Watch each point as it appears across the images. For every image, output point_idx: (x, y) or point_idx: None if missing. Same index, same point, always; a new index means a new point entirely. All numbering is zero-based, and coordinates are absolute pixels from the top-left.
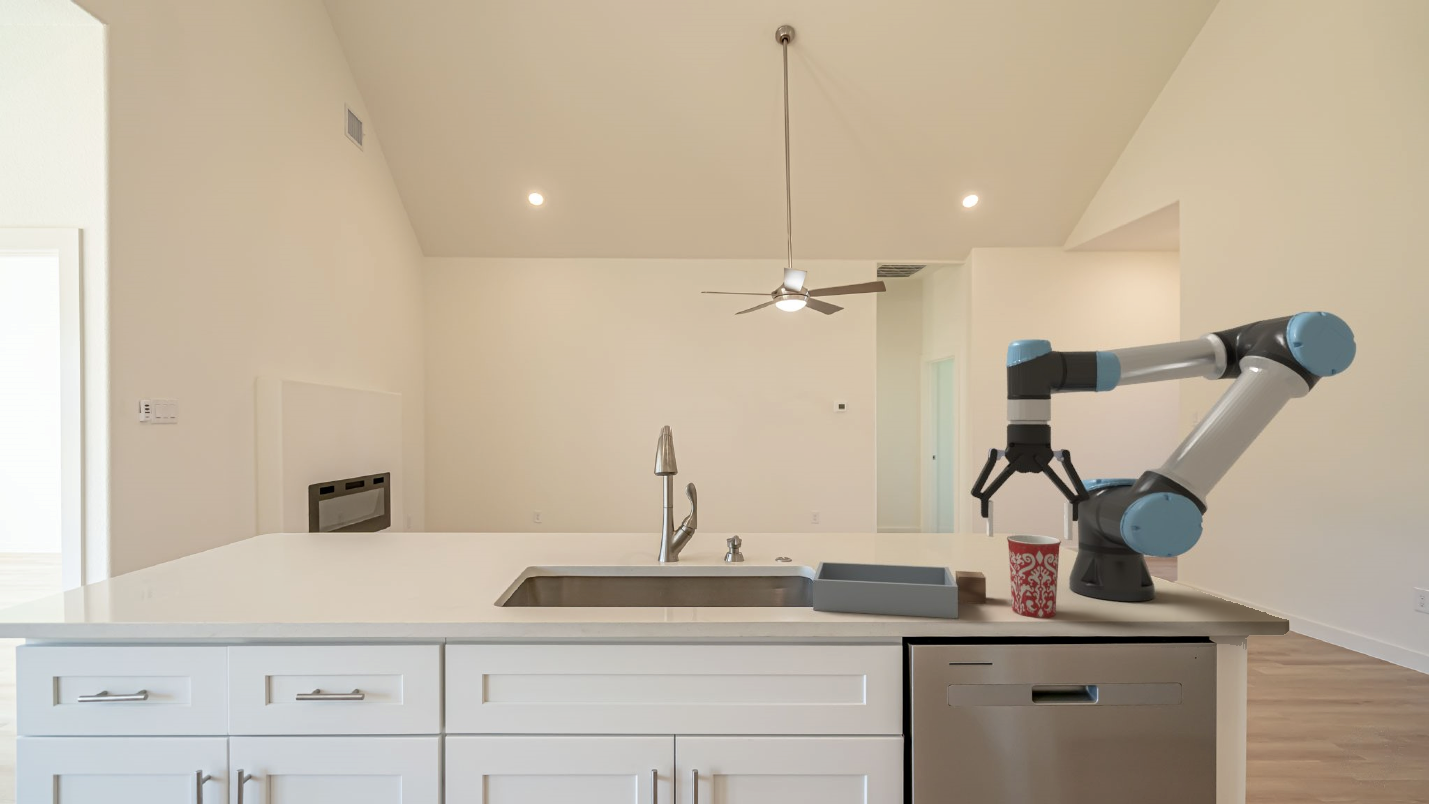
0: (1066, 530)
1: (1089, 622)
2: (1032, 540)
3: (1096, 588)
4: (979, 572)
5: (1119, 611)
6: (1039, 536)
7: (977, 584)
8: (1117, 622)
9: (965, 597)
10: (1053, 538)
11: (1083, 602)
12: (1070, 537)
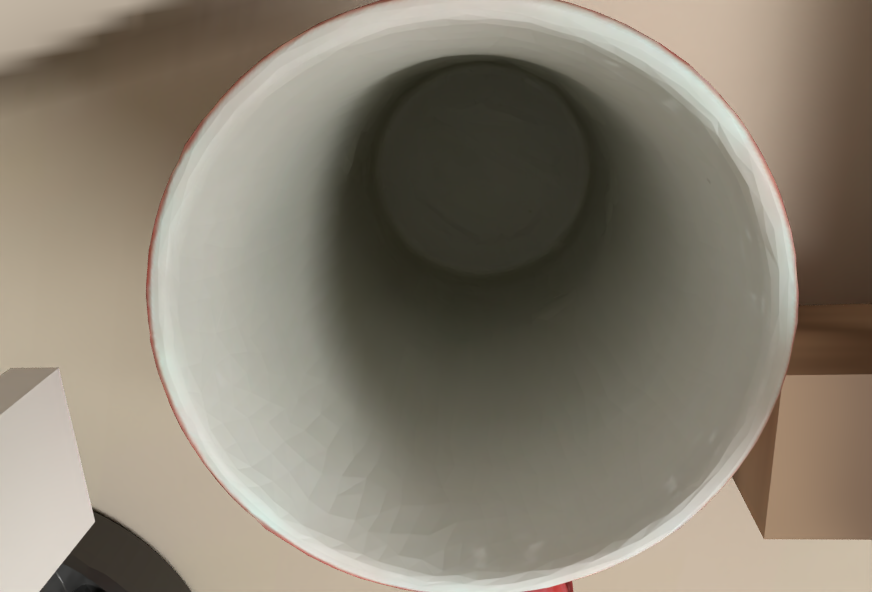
0: (14, 491)
1: (197, 12)
2: (436, 526)
3: (84, 552)
4: (784, 525)
5: (22, 297)
6: (356, 550)
7: (822, 353)
8: (48, 56)
9: (865, 315)
10: (215, 445)
11: (182, 438)
12: (14, 380)
